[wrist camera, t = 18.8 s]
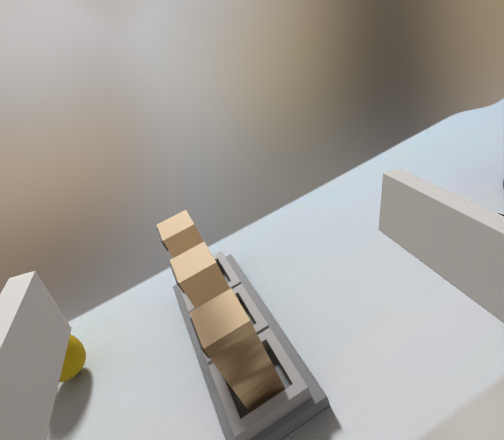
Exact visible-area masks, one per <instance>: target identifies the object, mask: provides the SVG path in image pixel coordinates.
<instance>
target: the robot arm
mask: <svg viewBox="0 0 504 440" xmlns="http://www.w3.org/2000/svg"><path fill="white" fill-rule="evenodd" d="M503 188H504V181H503ZM379 230H380V231H381V232H382V233H384V234H385V235H386V236H388V237H389V238H390V239H392V240H393V241H394V242H396V243H397V244H398V245H400V246H401V247H402V248H404V249H405V250H406V251H408V252H409V253H410V254H412V255H413V256H415V257H416V258H417V259H419V260H420V261H421V262H423V263H424V264H425V265H427V266H428V267H429V268H431V269H432V270H433V271H435V272H436V273H437V274H439V275H440V276H441V277H443V278H444V279H445V280H447V281H448V282H449V283H451V284H452V285H453V286H455V287H456V288H457V289H459V290H460V291H461V292H463V293H464V294H465V295H467V296H468V297H469V298H471V299H472V300H474V301H475V302H476V303H478V304H479V305H480V306H482V307H483V308H484V309H486V310H487V311H488V312H490V313H491V314H492V315H494V316H495V317H496V318H498V319H499V320H500V321H502V322H503V323H504V215H502V214H499V213H495V212H493V211H491V210H489V209H486V208H484V207H482V206H480V205H478V204H475V203H473V202H471V201H469V200H467V199H464V198H462V197H460V196H458V195H456V194H454V193H451V192H449V191H447V190H445V189H443V188H440V187H438V186H436V185H434V184H432V183H429V182H427V181H425V180H423V179H421V178H418V177H416V176H414V175H412V174H410V173H408V172H405V171H403V170H401V169H397V170H393V171H390V172H386V173H383V183H382V196H381V208H380V221H379ZM70 332H71V327H70V325H69V324H68V322H67V321H66V319H65V317H64V316H63V315H62V313H61V311H60V310H59V308H58V306H57V305H56V303H55V302H54V300H53V298H52V297H51V295H50V294H49V292H48V290H47V289H46V287H45V286H44V284H43V283H42V281H41V279H40V278H39V276H38V275H37V273H36V271H33V272H30V273H26V274H23V275H19V276H16V277H12V278H9V280H8V282H7V284H6V285H5V287H4V289H3V291H2V292H1V294H0V440H46V437H47V433H48V429H49V424H50V420H51V415H52V411H53V407H54V402H55V398H56V394H57V389H58V385H59V380H60V376H61V372H62V367H63V363H64V359H65V354H66V350H67V345H68V341H69V337H70Z"/></svg>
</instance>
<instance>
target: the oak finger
mask: <svg viewBox="0 0 504 440" xmlns="http://www.w3.org/2000/svg"><path fill="white" fill-rule="evenodd" d="M190 315H191V318H190V321H191V323H192V326H193V329H194V332H195V334H196V337H197V340H198V342H199V345H200V348H201V349H202V351H203V352H204V353H205V355H206V356H207V357H208V359H209V358H210V359H211V360H212V362H213V363H214V364H215V366H216V367H217V368H218V370H219V371H220V373H221V374H222V375H223V377H224V378H225V379H226V381H227V382H228V384H229V385H230V386H231V388H232V389H233V390H234V392H235V393H236V395H237V396H238V397H239V399H240V400H241V401H242V403H243V404H244V406H245V407H246V408H247V410H248V411H249V412H250V413H251V412H252V411H254V410H255V409H257V408H258V407H259V406H261V405H262V404H264V403H265V402H267V401H268V400H270V399H271V398H273V397H274V396H276V395H277V394H279V393H280V392H282V391H283V390H285V387H284V385H283V383H282V381H281V379H280V377H279V375H278V373H277V371H276V370H275V368H274V366H273V364H272V362H271V360H270V358H269V356H268V354H267V352H266V350H265V348H264V346H263V344H262V342H261V340H260V338H259V336H258V335H257V333H256V331H255V329H254V327H253V325H252V323H251V321H250V319H249V317H248V316H247V314H246V312H245V311H244V309H243V307H242V305H241V304H240V302H239V300H238V299H237V297H236V295H235V293H234V292H233V290H232V288H230V289H229V290H227V291H225V292H224V293H222V294H220V295H218V296H217V297H215V298H213V299H212V300H210V301H208V302H206V303H205V304H203V305H201V306H200V307H198V308H196V309H194V310H193V311H191V312H190Z"/></svg>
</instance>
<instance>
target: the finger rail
mask: <svg viewBox="0 0 504 440" xmlns="http://www.w3.org/2000/svg"><path fill="white" fill-rule="evenodd" d="M157 227H158V228H157V231H158V234H159V236H160V239H161V242H162V243H163V245H164V246H165V248H166V249H167V250H169V252H170V253H171V255H172V256H173V259H171V260H170V262H171V264H170V266H171V269H172V272H173V275H174V277H175V280H176V283H177V285H175V286H173V289H174V291H175V294H176V297H177V300H178V303H179V306H180V309H181V312H182V315H183V317H184V320H185V323H186V326H187V329H188V332H189V335H190V338H191V341H192V343H193V346H194V349H195V352H196V355H197V358H198V361H199V364H200V367H201V369H202V372H203V375H204V378H205V381H206V384H207V387H208V390H209V393H210V395H211V398H212V401H213V404H214V407H215V410H216V413H217V416H218V419H219V422H220V424H221V427H222V430H223V433H224V436H225V439H226V440H281V439H283V438H284V437H286V436H287V435H289V434H290V433H291V432H293V431H294V430H296V429H297V428H298V427H300V426H301V425H303V424H304V423H306V422H307V421H308V420H310V419H311V418H313V417H314V416H315V415H317V414H318V413H320V412H321V411H323V410H324V409H325V408H327V407H328V406H330V404H329V401H328V398H327V396H326V394H325V393H324V391H323V390H322V388H321V387H320V385H319V384H318V382H317V381H316V379H315V378H314V376H313V375H312V373H311V372H310V370H309V369H308V368H307V366H306V365H305V363H304V362H303V360H302V359H301V357H300V356H299V354H298V353H297V351H296V350H295V348H294V347H293V345H292V344H291V342H290V341H289V339H288V338H287V336H286V335H285V333H284V332H283V330H282V329H281V327H280V326H279V324H278V323H277V321H276V320H275V319H274V317H273V316H272V314H271V313H270V311H269V310H268V308H267V307H266V305H265V304H264V302H263V301H262V299H261V298H260V296H259V295H258V293H257V292H256V290H255V289H254V287H253V286H252V284H251V283H250V281H249V280H248V278H247V277H246V275H245V274H244V272H243V271H242V270H241V268H240V267H239V265H238V264H237V262H236V261H235V259H234V258H233V256H232V255H231V254H230V255H228V256H227V257H225V256H224V255H223V253H222V251H221V252H219V253H217V254H215V255H213V256H212V254H211V252H210V251H209V249H208V247H207V246H206V244H205V242H203V240H202V238H201V236H200V235H199V232H198V231H197V229H196V227H195V225H194V223H193V221H192V220H191V218H190V216H189V215H188V213H187V211H186V210H185V211H182V212H180V213H179V214H177V215H175V216H173V217H171V218H169V219H167V220H165V221H163V222H161V223H159V224H157ZM230 288H232V290H233V292H234V293H235V295H236V297H237V299H238V300H239V302H240V304H241V305H242V307H243V309H244V311H245V312H246V314H247V316H248V317H249V319H250V321H251V323H252V325H253V327H254V329H255V331H256V333H257V335H258V336H259V338H260V340H261V342H262V344H263V346H264V348H265V350H266V352H267V354H268V356H269V358H270V360H271V362H272V364H273V366H274V368H275V370H276V371H277V373H278V375H279V377H280V379H281V381H282V383H283V385H284V387H285V390H283V391H282V392H280V393H279V394H277V395H276V396H274V397H273V398H271V399H270V400H268V401H267V402H265V403H264V404H262V405H261V406H259V407H258V408H257V409H255V410H254V411H252V412H251V413H250V412H249V411H248V410H247V408H246V407H245V406H244V404H243V403H242V401H241V400H240V399H239V397H238V396H237V395H236V393H235V392H234V390H233V389H232V388H231V386H230V385H229V384H228V382H227V381H226V379H225V378H224V377H223V375H222V374H221V373H220V371H219V370H218V368H217V367H216V366H215V364H214V363H213V362H212V360H211V359H210V358H209V359H208V357H207V356H206V355H205V353H204V352H203V351H202V349H201V348H200V345H199V342H198V340H197V337H196V334H195V332H194V329H193V326H192V323H191V321H190V318H191V315H190V312H191V311H193V310H194V309H196V308H198V307H200V306H201V305H203V304H205V303H206V302H208V301H210V300H212V299H213V298H215V297H217V296H218V295H220V294H222V293H224V292H225V291H227V290H229V289H230Z"/></svg>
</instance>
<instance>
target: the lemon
mask: <svg viewBox="0 0 504 440" xmlns="http://www.w3.org/2000/svg"><path fill="white" fill-rule="evenodd" d="M85 359H86V352H85V349H84V347H83V345H82V343H81V342H80V341H79V340H78V339H77V338H76V337H74V336H73V335H71V334H70V337H69V341H68V345H67V350H66V354H65V359H64V363H63V367H62V372H61V376H60V380H59V382H64V381H67V380H70V379H71V378H73V377H74V376H76V375H77V374H78V373H79V372H80V370H81V369H82V368H83V365H84V363H85Z"/></svg>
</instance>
